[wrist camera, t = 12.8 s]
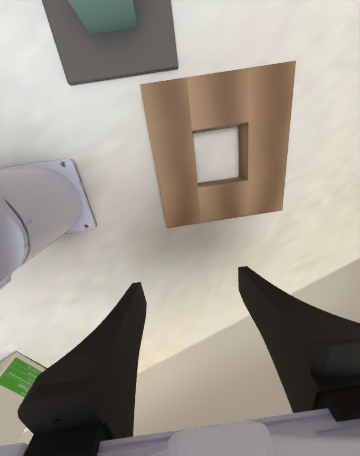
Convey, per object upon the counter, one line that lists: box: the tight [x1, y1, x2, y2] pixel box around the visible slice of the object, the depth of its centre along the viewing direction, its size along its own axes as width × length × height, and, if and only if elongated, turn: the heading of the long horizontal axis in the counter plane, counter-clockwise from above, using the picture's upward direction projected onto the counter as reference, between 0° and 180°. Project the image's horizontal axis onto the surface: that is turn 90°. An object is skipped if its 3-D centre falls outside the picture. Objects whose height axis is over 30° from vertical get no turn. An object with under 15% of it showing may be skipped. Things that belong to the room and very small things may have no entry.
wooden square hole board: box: [140, 61, 296, 228], centre depth 18 cm, size 13×13×2 cm
